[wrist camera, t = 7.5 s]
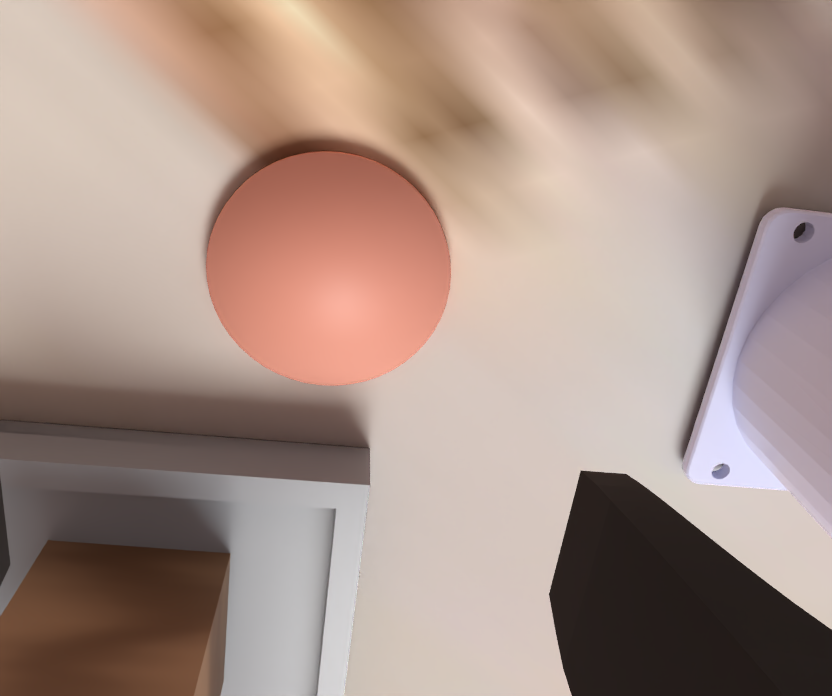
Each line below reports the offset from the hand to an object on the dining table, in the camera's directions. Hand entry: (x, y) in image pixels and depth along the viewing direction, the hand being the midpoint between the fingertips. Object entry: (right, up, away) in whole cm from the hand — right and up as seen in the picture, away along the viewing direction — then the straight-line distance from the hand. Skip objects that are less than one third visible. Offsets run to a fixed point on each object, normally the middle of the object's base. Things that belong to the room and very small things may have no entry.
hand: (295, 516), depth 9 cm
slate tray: (-6, -6, +13) cm, 15 cm away
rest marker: (-1, +4, +9) cm, 10 cm away
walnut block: (-7, -6, +12) cm, 15 cm away
